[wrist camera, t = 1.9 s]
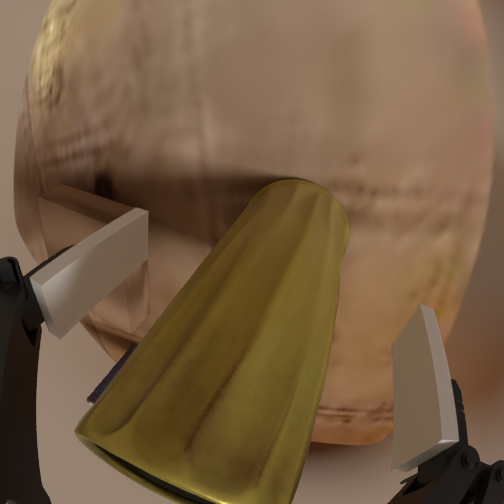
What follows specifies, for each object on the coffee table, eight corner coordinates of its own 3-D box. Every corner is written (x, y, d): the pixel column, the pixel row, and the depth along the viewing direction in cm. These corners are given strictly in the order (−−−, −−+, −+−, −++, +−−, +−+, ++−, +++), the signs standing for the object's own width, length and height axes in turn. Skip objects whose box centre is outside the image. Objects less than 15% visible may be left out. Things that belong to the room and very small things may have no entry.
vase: (242, 264, 18) (110, 469, 7) (247, 170, 15) (11, 368, 4) (337, 284, 17) (281, 535, 5) (358, 188, 14) (348, 522, 2)
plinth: (62, 183, 20) (37, 195, 18) (147, 211, 19) (120, 229, 16) (75, 273, 26) (56, 288, 23) (150, 312, 24) (131, 334, 22)
